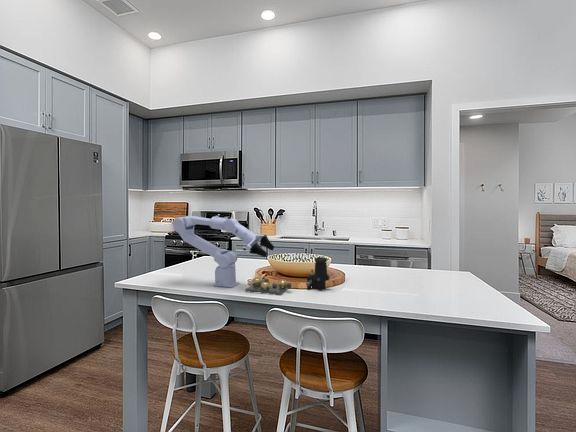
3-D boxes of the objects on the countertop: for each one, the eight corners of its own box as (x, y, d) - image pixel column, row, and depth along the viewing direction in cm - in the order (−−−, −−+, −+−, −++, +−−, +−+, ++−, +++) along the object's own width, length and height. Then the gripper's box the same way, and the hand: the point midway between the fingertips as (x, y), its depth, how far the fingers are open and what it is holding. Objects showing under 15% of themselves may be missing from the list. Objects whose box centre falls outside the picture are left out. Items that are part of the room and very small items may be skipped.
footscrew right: (259, 289, 145) (259, 283, 145) (263, 286, 148) (263, 281, 148) (274, 290, 142) (274, 285, 142) (278, 288, 146) (277, 282, 145)
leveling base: (245, 291, 147) (245, 287, 147) (256, 284, 157) (256, 280, 157) (280, 295, 141) (280, 291, 141) (289, 287, 151) (289, 283, 151)
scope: (310, 256, 154) (331, 257, 150) (310, 284, 155) (331, 286, 151) (305, 259, 146) (327, 261, 142) (305, 290, 147) (327, 292, 144)
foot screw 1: (252, 285, 151) (252, 279, 151) (254, 282, 155) (254, 277, 155) (267, 285, 150) (267, 280, 150) (269, 283, 154) (269, 278, 153)
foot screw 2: (277, 286, 149) (277, 280, 148) (283, 284, 151) (283, 279, 151) (287, 290, 143) (287, 284, 143) (293, 288, 145) (293, 282, 145)
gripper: (241, 234, 145) (266, 251, 143) (256, 224, 157) (279, 239, 155) (235, 246, 148) (260, 263, 146) (251, 235, 161) (273, 250, 158)
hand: (269, 252), depth 151 cm, fingers open, 7 cm apart
